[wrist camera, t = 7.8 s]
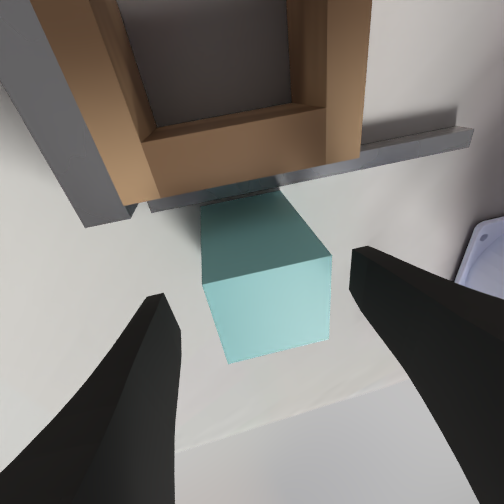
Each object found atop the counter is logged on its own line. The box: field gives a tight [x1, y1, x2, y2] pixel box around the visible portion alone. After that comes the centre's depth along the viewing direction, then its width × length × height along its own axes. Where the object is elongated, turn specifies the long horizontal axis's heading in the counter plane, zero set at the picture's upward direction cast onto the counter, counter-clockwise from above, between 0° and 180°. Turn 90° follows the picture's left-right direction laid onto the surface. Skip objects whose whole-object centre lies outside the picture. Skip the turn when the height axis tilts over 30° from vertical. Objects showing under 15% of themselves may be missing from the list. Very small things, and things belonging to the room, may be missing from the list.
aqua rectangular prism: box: [200, 191, 332, 364], centre depth 11 cm, size 4×4×6 cm
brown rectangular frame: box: [30, 0, 372, 206], centre depth 8 cm, size 9×8×4 cm
